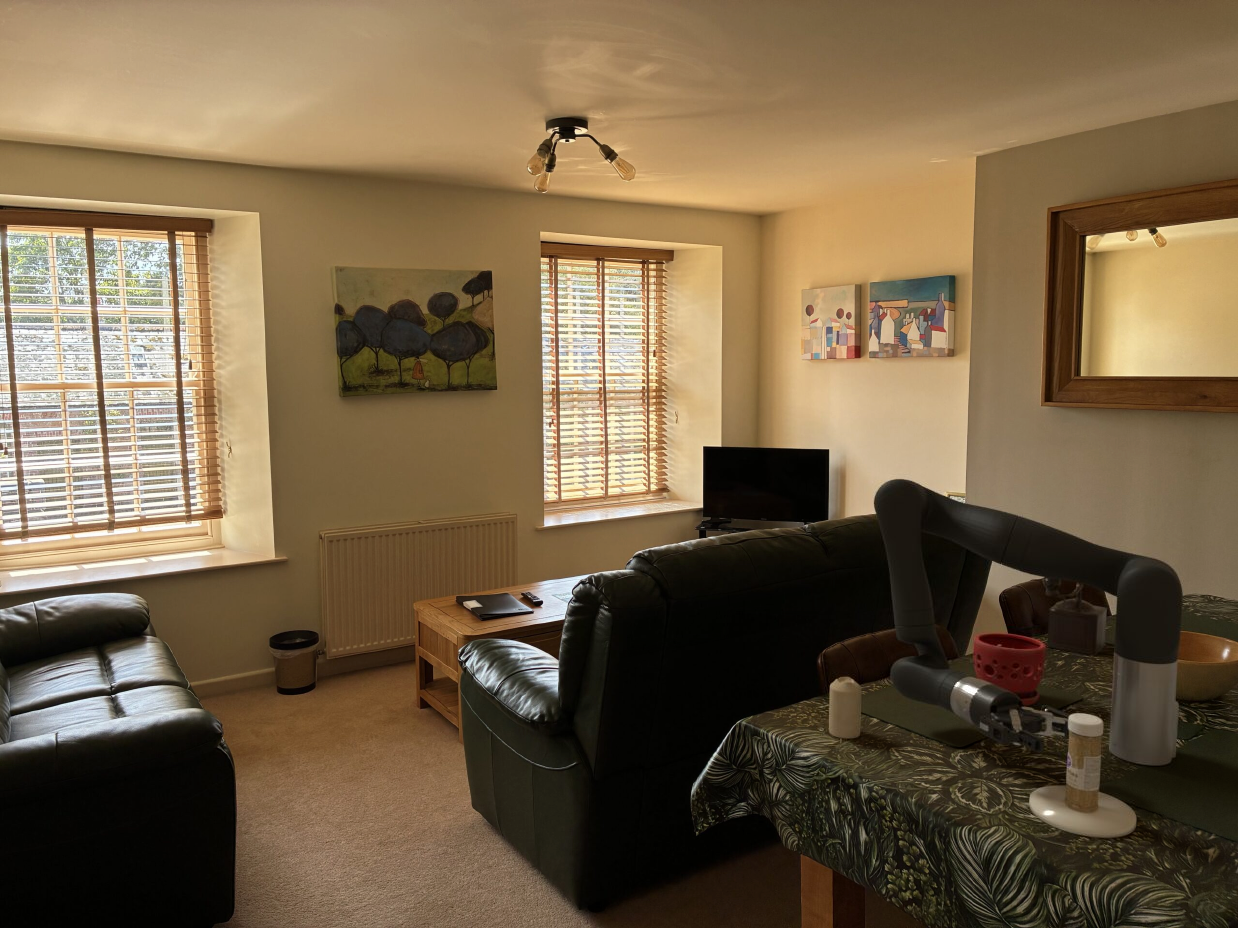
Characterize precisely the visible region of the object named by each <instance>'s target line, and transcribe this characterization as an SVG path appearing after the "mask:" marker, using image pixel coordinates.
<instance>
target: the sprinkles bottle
mask: <svg viewBox="0 0 1238 928" xmlns="http://www.w3.org/2000/svg"><path fill="white" fill-rule="evenodd" d="M1069 715H1070V716H1069V719H1068V729H1069V738H1068V748H1067V750H1068V751H1067V760H1066V774H1065V775H1066V776H1065V778H1066V779H1065V780H1066V782H1065V786H1066V797H1065V803H1066V805H1067V806H1069V807H1070V808H1072V809H1074V810H1077V811H1081V812H1093V811H1096V810H1098V807H1099V806H1098V792H1099V789H1100V780H1101V779H1100V778H1101V765H1102V764H1101V762H1102V759H1101V758H1102V753H1101V751H1102V750H1101V749H1102V736H1103V733H1104V721H1103V720H1102V718H1100V717H1098V716H1095V715H1093V714H1090V713H1089V714H1087V713H1079V712H1077V713H1071V714H1069Z"/></svg>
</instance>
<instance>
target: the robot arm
mask: <svg viewBox="0 0 1238 928" xmlns="http://www.w3.org/2000/svg"><path fill="white" fill-rule="evenodd" d="M873 508H874V511H875V515H876V518H877V521H878V525H879V528H880V531H881V536H882V540H883V543H884V547H885V552H886V553H885V554H886V559H887V564H888V570H889V581H890V590H891V600H892V610H893V619H894V621H893V622H894V625H895V626H894V629H895V635H896V638H897V640H898V641H900V642H902V643H905V644H911V645H913V644H914V645H915V648H916V650H917V652H918V655H913V656H906V657H902V658H899V659H897V660H896V661H894V663H893V664H892V666H891V668H890V681H891V683H892V685H893V687H894V689H896V691H897V692H898V693H899V694H901V696H903V697H905V698H907V699H909V700H912V701H915V702H919V703H923V704H927V705H932V706H937V707H941V708H943V709H945V710H946V711H949V712H950V713H952V714H955V715H956V716H958V717H960V718H961V719H962V720H964V721H965V722H968V723H969V724H971V725H973V726H975V727H978V728H979V733H981V734H983V736H986V737H987V738H989V739H991V740H993V741H995V742H997V743H998V744H1000V745H1002V746H1009V745H1010V743H1012V744H1013V745H1015V746H1023V747H1025V748H1026V749H1029V750H1031V751H1033V752H1034V753H1035V752H1036V753H1037V754H1042V753H1044V752H1045V740H1044V739H1045V738H1043V737H1041V736H1046V737H1051V736H1052V735H1057V736H1063V737H1065V738H1067V739H1069V729H1068V719H1069V716H1070V715H1071V714H1069V713H1066V712H1064V711H1061V710H1060V709H1056V708H1054V707H1051V706H1049V705H1045V704H1044V705H1041V709H1040V710H1038V709H1034V708H1033V707H1029V706H1024V705H1023V703H1022V701H1021V700H1020V698H1019V697H1018V696H1017V695H1016V694H1014V693H1012V692H1010V691H1008V690H1005V689H1003V688H1001V687H998V686H996V685H994V684H991V683H989V682H987V681H984V680H981V679H978V678H977V677H973V676H971V675H969V674H967V673H964V672H962V671H960V670H956V669H951V668H950V664H949V662H948V658H947V657H946V654H945V652H944V649H943V647H942V644H941V640H940V639H939V636H938V633H937V630H936V623H935V615H934V614H935V613H934V606H933V605H934V604H933V599H932V598H933V597H932V592H931V588H930V584H929V579H928V577H927V576H928V575H927V572H926V567H925V564H924V563H925V562H924V559H923V558H924V557H923V552H922V551H923V550H922V533H926V534H930V535H934V536H936V537H940V538H944V539H947V540H949V541H951V542H953V543H955V544H958V545H959V546H961V547H963V548H965V549H967V550H968V551H970V552H972V553H974V554H975V555H978V556H980V557H982V558H984V559H987V560H989V561H992V562H994V563H996V564H999V565H1002V566H1005V567H1007V568H1010V569H1013V570H1016V571H1019V572H1021V573H1025V574H1029V575H1033V576H1038V577H1042V578H1044V577H1047V578H1054V579H1060V581H1068V582H1069V581H1070V582H1074V583H1078V582H1079V583H1082V584H1083V585H1086V586H1090V587H1092V588H1094V589H1097V590H1100V591H1102V592H1105V593H1106V594H1109V595H1112V596H1113V597H1116V607H1115V608H1116V610H1115V630H1114V648H1113V649H1114V650H1113V652H1114V653H1113V667H1112V668H1113V669H1112V670H1113V671H1112V690H1111V691H1112V692H1111V707H1110V708H1111V709H1110V727H1109V728H1110V729H1109V740H1108V741H1109V744H1108V745H1109V746H1108V750H1109V752H1110V753H1111V754H1113V756H1115V757H1117V758H1119V759H1121V760H1124V761H1126V762H1130V763H1134V764H1139V765H1143V766H1164V765H1168V764H1170V763H1171V762H1172V760H1173V758H1176V757H1177V742H1178V741H1177V740H1178V724H1179V723H1178V722H1179V706H1180V705H1179V702H1178V701H1176V697H1177V696H1176V694H1177V692H1176V691H1177V676H1178V663H1179V662H1178V657H1179V648H1180V644H1181V643H1180V641H1181V630H1182V629H1181V627H1182V615H1183V603H1184V602H1183V596H1184V593H1183V587H1182V583H1181V580H1180V577H1179V575H1178V574H1177V572H1176V571H1175V569H1174V568H1173V567H1172V566H1171V565H1170V564H1168V563H1166V562H1164V561H1163V560H1160V559H1157V558H1154V557H1150V556H1145V555H1140V554H1136V553H1131V552H1127V551H1123V550H1119V549H1115V548H1110V547H1106V546H1103V545H1099V544H1095V543H1093V542H1090V541H1088V540H1086V539H1083V538H1082V537H1078V536H1076V535H1073V534H1072V533H1071V534H1070V533H1068V532H1066V531H1063V530H1061V529H1059V528H1058V529H1057V528H1055V527H1053V526H1050V525H1047V524H1044V523H1042V522H1039V521H1036V520H1033V519H1030V518H1027V517H1024V516H1022V515H1021V516H1020V515H1018V514H1014V513H1012V512H1011V513H1010V512H1006V511H1002V510H999V509H994V508H989V507H985V506H980V505H976V504H971V503H970V504H969V503H966V502H962V501H960V500H956V499H953V498H950V497H948V496H945V495H944V494H941V493H939V492H936V491H935V490H932V489H930V488H927V487H926V486H923V485H921V484H920V483H917V482H915V481H913V480H909V479H904V478H894V479H890V480H887V481H885V482H884V483H883V484H881V485H880V487H878V489H877V491H876V492H875V495H874V499H873ZM921 532H922V533H921ZM1043 723H1044V724H1045V725H1046V729H1043ZM1039 735H1040V736H1039Z"/></svg>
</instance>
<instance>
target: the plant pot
mask: <svg viewBox="0 0 1238 928" xmlns="http://www.w3.org/2000/svg"><path fill="white" fill-rule="evenodd" d="M1000 645H1001V646H1000ZM1046 646H1047V645H1046V644H1045V643H1044V642H1042V641H1041V640H1039V639H1037V638H1032V637H1028V636H1026V635H1025V636H1024V635H1019V634H1014V633H1002V632H1001V633H1000V632H989V633H987V632H986V633H979V634H977V635H975V637H974V639H973V651H972V652H973V655H972V656H973V657H972V658H973V666H974V671H975V675H976V678H977V679H981V680H984V681H987V682H989V683H991V684H994V685H996V686H998V687H1001V688H1003V689H1005V690H1008V691H1010V692H1012V693H1014V694H1016V695H1017V696H1018V697H1019V698H1020V700H1021V701H1022V703H1023V705H1024V706H1025V707H1028V706H1029V705H1033V704H1035V703H1036V702H1037V701H1038V700H1039V697H1040V693H1039V691H1037V690H1036V689H1037V688H1038V686H1039V684H1040V682H1041V681H1042V679H1043V675H1044V670H1045V664H1046V655H1047V654H1046V653H1047V647H1046Z"/></svg>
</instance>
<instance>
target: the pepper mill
mask: <svg viewBox="0 0 1238 928" xmlns="http://www.w3.org/2000/svg"><path fill="white" fill-rule="evenodd" d="M1061 582H1062V580H1061V579H1054V578H1047V577H1042V583H1043V586H1044V587H1045V595H1046V596H1048V597H1052V598H1053V597H1054V598H1058V599H1062V600H1061V601H1057V602H1055V604H1054V605H1053V606H1051V607H1050V608H1049V609H1048V625H1047V626H1048V627H1047V643H1046V646H1047V647H1048V648H1051V649H1054V650H1058V651H1062V652H1063V651H1064V652H1069V653H1074V654H1080V655H1085V656H1092V657H1093V656H1096V655H1097V654H1099V652H1101V651H1100V650H1102V649H1103V648H1104V647H1105V646H1106V630H1107V629H1106V626H1107V611H1108V609H1107V607H1103V606H1098V605H1093V604H1091V603H1090V602H1089V601H1086V600H1083V599H1082V589H1083V588H1084V584H1082V583H1079V582H1076V586H1075V587H1076V588H1075V589H1074V590H1073V591H1072V592H1071V593H1069V594H1060V592H1059V591H1058V588H1059V587H1060V585H1061ZM1075 596H1076V597H1075ZM1074 597H1075V598H1074ZM1047 647H1046V648H1047ZM1095 654H1096V655H1095Z"/></svg>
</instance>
